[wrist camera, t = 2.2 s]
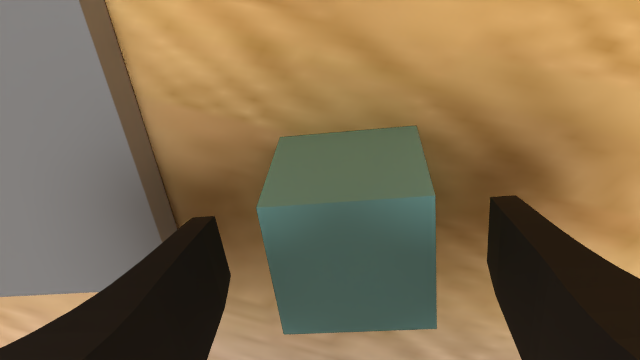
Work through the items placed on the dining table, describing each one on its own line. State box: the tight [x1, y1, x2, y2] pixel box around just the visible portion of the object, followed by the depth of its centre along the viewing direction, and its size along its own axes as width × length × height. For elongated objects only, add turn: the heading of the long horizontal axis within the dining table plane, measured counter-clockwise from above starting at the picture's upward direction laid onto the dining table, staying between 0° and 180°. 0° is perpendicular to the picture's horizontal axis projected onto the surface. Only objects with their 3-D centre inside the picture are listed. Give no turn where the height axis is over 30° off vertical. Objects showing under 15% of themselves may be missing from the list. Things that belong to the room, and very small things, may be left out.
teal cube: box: [256, 126, 437, 334], centre depth 14 cm, size 4×4×4 cm
